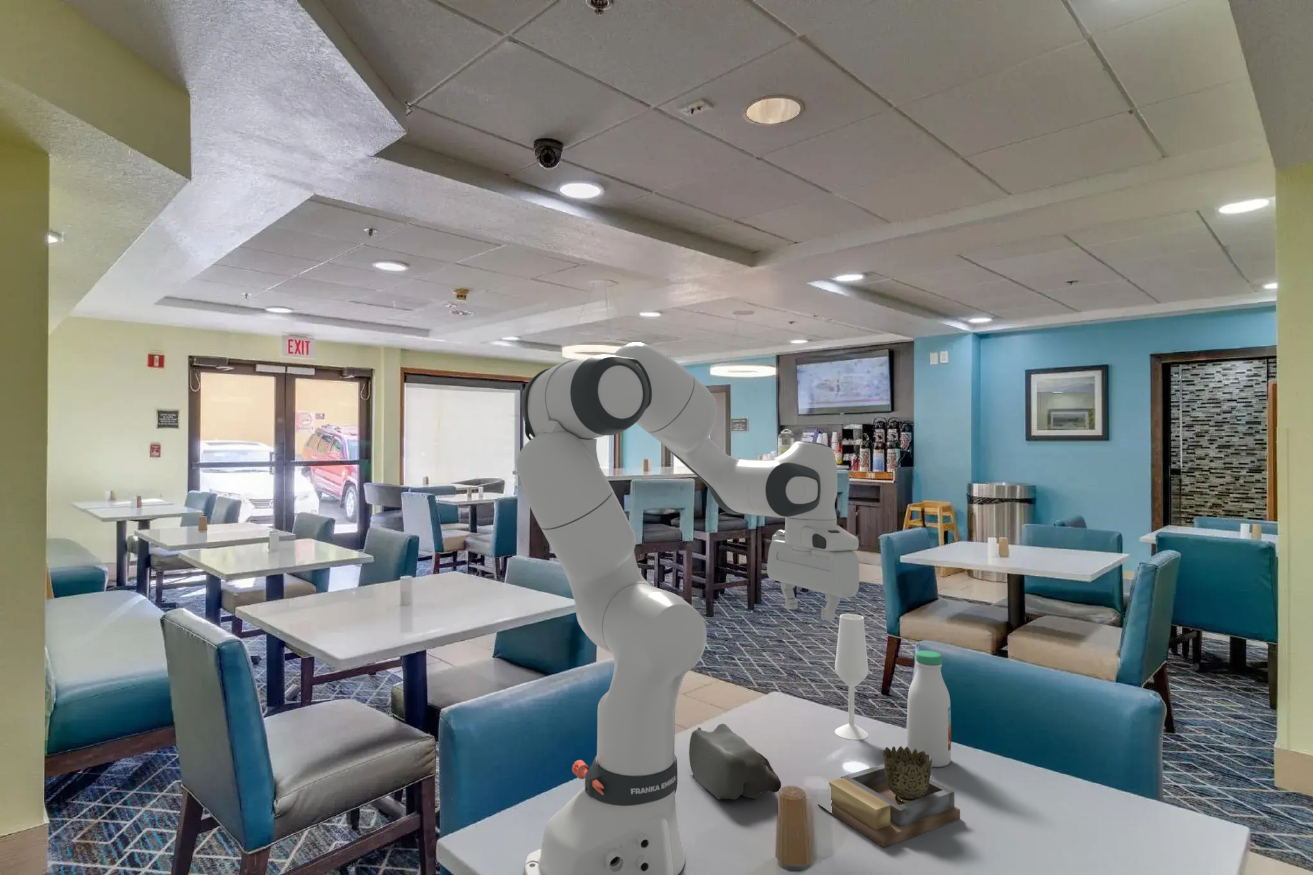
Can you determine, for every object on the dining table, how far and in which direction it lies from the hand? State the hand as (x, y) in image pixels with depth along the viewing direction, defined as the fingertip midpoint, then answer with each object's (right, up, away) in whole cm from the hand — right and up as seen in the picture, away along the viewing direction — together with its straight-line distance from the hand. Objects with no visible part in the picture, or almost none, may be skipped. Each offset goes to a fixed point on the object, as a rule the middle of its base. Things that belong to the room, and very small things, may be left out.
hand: (808, 614), depth 122 cm
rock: (-13, -30, +1) cm, 33 cm away
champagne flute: (+14, -31, +23) cm, 40 cm away
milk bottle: (+25, -30, +11) cm, 41 cm away
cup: (+14, -28, -10) cm, 33 cm away
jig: (+11, -30, -9) cm, 33 cm away
